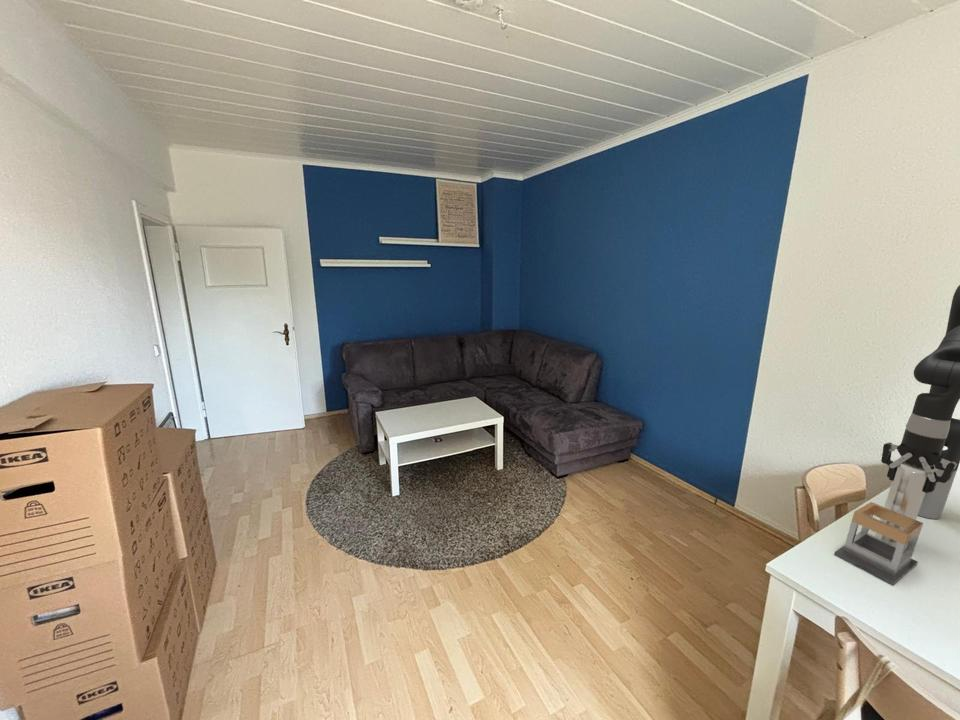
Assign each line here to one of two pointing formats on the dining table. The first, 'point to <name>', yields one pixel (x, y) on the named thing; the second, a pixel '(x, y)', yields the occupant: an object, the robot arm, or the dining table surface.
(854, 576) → the dining table surface
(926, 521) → the dining table surface
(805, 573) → the dining table surface
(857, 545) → the collar stand
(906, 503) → the grey cylinder
